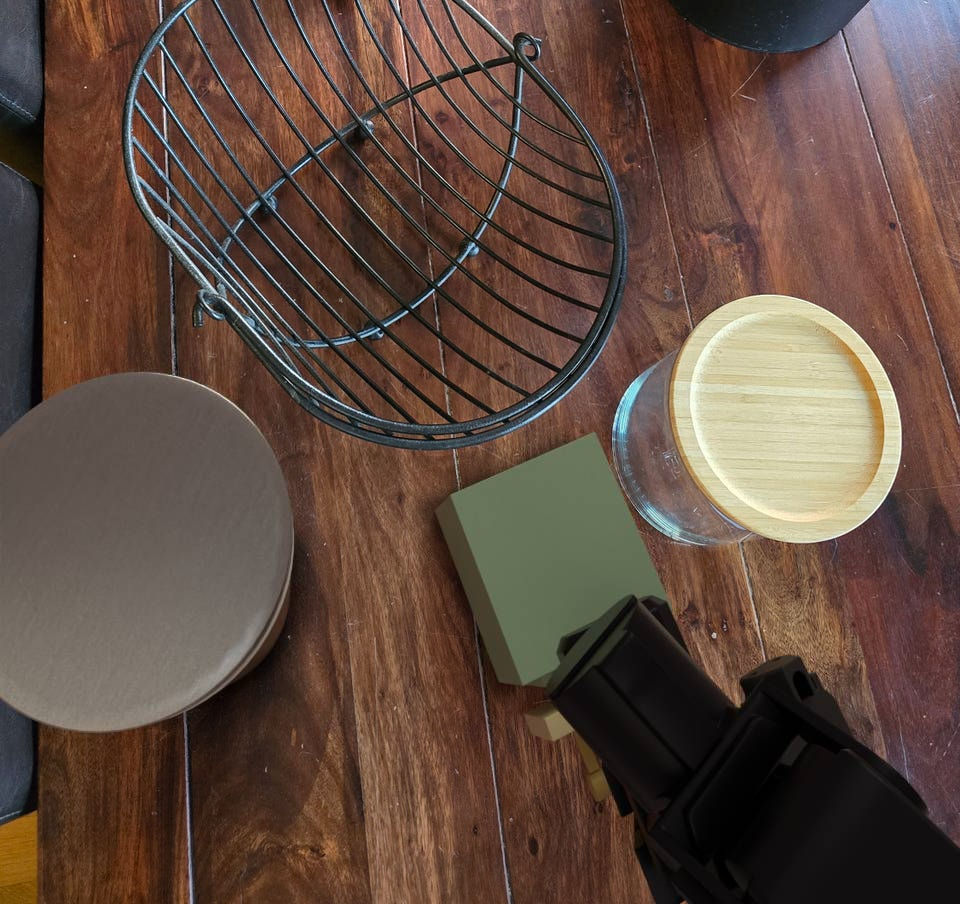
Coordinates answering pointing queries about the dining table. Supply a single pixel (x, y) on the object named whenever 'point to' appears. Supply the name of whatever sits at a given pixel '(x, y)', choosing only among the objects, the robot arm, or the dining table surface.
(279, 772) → the dining table surface
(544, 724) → the drawer
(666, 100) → the dining table surface
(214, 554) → the round grey canister
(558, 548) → the cabinet
